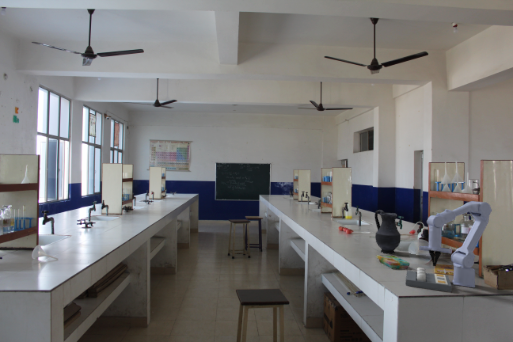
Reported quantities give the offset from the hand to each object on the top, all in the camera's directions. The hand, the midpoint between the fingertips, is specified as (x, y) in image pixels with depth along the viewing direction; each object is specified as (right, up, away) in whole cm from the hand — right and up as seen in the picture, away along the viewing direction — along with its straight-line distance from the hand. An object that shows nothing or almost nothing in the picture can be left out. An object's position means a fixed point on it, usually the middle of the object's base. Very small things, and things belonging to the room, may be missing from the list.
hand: (434, 265), depth 180 cm
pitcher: (+4, -11, +78) cm, 79 cm away
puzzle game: (-7, -10, +39) cm, 41 cm away
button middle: (-6, -8, +2) cm, 10 cm away
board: (-3, -9, +1) cm, 10 cm away
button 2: (-8, -7, -4) cm, 12 cm away
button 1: (-3, -8, +8) cm, 12 cm away
